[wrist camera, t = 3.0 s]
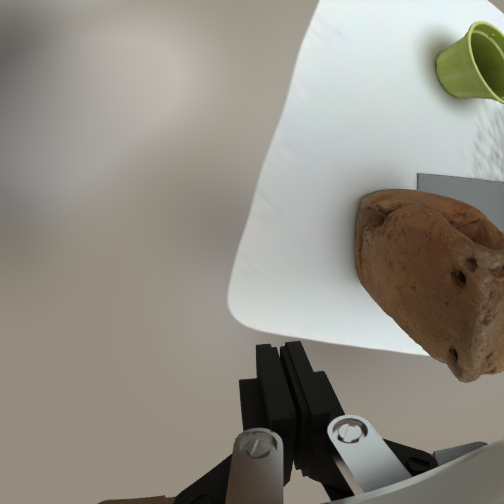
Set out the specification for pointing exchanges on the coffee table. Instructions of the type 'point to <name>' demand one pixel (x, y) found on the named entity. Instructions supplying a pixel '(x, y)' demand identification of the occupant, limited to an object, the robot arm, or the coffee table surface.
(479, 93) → the plant pot
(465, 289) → the block
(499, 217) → the mat
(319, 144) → the coffee table surface
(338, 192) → the coffee table surface
